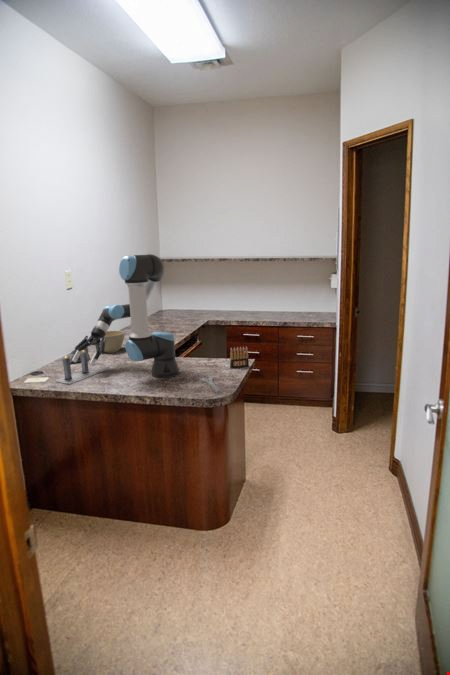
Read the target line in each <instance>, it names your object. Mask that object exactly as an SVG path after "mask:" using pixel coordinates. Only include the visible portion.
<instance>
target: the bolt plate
mask: <svg viewBox="0 0 450 675" xmlns="http://www.w3.org/2000/svg"><path fill="white" fill-rule="evenodd" d="M62 363H63V365H62V366H63V373H64V376H62V377H60V378H57V379H55V382H57V383H60V384H66V385H71V384H74V383H76V382H79V381H82V380H85V379H87V378H91V377H92V376H96V375H98V374H101V373H102V372H105V371H108V370H111V366H107V365H100V364H94V365H92V366H90V367H88V370H89V371H88V372H82V369H81V370H79V371H75V372H73V373H72V369H71V362H70V358H69V356H68V355H65V356H62Z"/></svg>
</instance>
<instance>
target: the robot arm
mask: <svg viewBox="0 0 450 675" xmlns="http://www.w3.org/2000/svg"><path fill="white" fill-rule="evenodd" d="M118 269H119V270H118V272H119V276H120V278H121V279H122V280H123V281H124V284H125V285H127V288H128V302H129V303H128V304H114V305H112V306H111V305H106V306H104V308H103V309H102V311H101V313H100V315H99V317H98V319H97V321H96V322H95V324H94V326H93V328H92V330H91V332H90V336H89V335H85V336H84V338H83V339H82V340H81V341H80V342H79V343H78V344H77V345H76V346H75V347H74V350H75V349H76V350H77V351H76V353H75V354H74V357H73V359H72V361H74V362H73V363H78V362H77V360H78V358H79V356H80V353H81V350H84V349H85V348H87V347H88V348H89V346H95V353H94V354H93V356H92V357H91V360H90V362H89V364H90V365H92V366H95V365H96V364H95V363H96V362H97V360H98V359H99V357H100V356H101V355H104V354H105V351H104V348H105V342H106V340H105V339H104V336H105V333H106V332H107V331H109V328H110V327H111V325H112V323H113V322H114V321H116V320H122V319H126V318H130V327H131V328H130V329H131V333H130V334H128V340H126V341H125V343H124V346H125V347H124V349H125V352H126V355H127V356H128V358H129V359H130V360H131V361H133V362H142V361H147V360H151V359H153V363H152V367H151V371H150V373H151V376H152V377H156V378H170V377H175V376H177V375H179V374H180V368H179V365H178V362H177V360H176V346H175V336H174V334H173V333H172V332H169V331H153V332H152V333H151V332H150V331H149V320H148V319H149V318H148V304H147V301H148V299H149V298H150V296H151V295H152V293H153V291H154V289H155V287H156V285H157V283H159V282H160V281H161V279H162V278H163V276H164V273H165V265H164V263H163V261H162V259H161V258H160V257H159V256H157V255H155V254H151V253H149V254H131V255H126V256H124V257H122V258H121V260H120V263H119V267H118Z"/></svg>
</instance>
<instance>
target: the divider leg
mask: <svg viewBox="0 0 450 675" xmlns="http://www.w3.org/2000/svg"><path fill="white" fill-rule="evenodd" d="M80 355H81V361H80V363H81V370H82V372H88V371H89V370H88V368H89V362H88V361H89V360H87V352H86V350H81V353H80Z"/></svg>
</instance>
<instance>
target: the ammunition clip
mask: <svg viewBox="0 0 450 675" xmlns="http://www.w3.org/2000/svg"><path fill="white" fill-rule="evenodd" d="M229 356H230V357H229V358H230V359H229V368H230V369H232V370H233V369H240V368H241V369H242V368H249V367H250V361H249V350H248V346H247V345H246V347H245V346H243V347H242V346H240V347H238V346H237V347H235V346H234V347H233V348H232V347H230V354H229Z"/></svg>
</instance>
